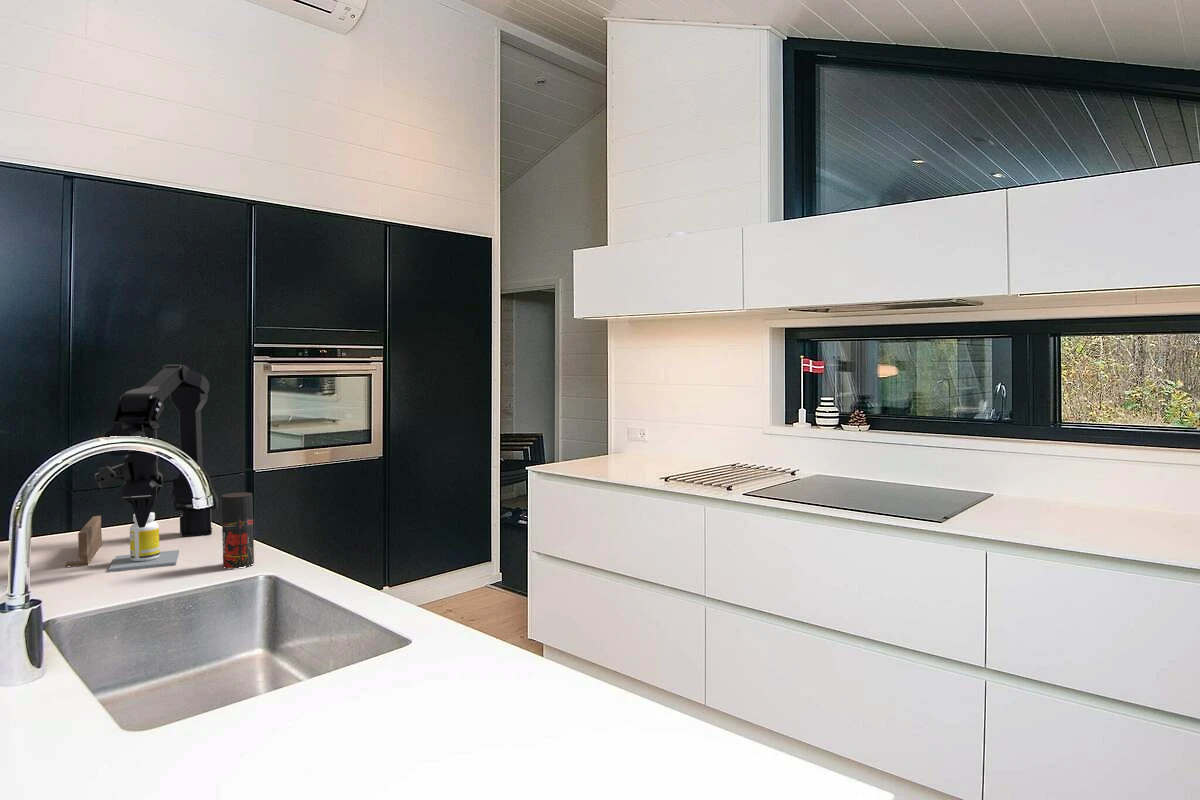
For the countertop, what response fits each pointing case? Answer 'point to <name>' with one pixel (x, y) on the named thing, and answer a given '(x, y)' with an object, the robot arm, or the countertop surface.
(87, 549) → the screen
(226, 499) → the deodorant
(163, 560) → the mat
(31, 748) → the countertop surface
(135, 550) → the supplement bottle
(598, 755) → the countertop surface
